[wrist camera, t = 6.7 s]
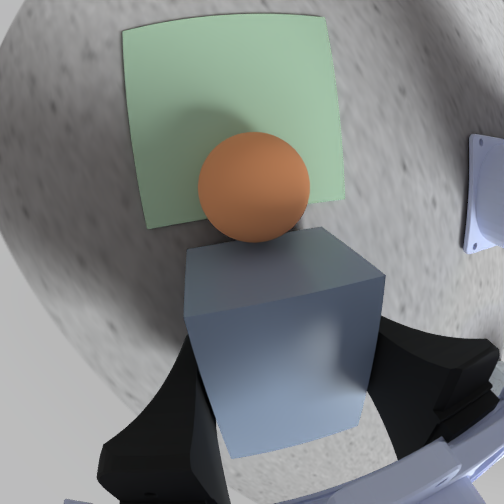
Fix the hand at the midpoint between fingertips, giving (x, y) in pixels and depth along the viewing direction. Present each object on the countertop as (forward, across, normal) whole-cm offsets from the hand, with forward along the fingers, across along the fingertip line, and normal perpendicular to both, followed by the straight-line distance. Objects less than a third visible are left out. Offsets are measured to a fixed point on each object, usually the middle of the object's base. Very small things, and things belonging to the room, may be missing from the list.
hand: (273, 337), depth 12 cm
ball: (+1, 0, -6) cm, 6 cm away
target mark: (+3, 0, -9) cm, 10 cm away
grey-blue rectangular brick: (+2, 0, 0) cm, 2 cm away
